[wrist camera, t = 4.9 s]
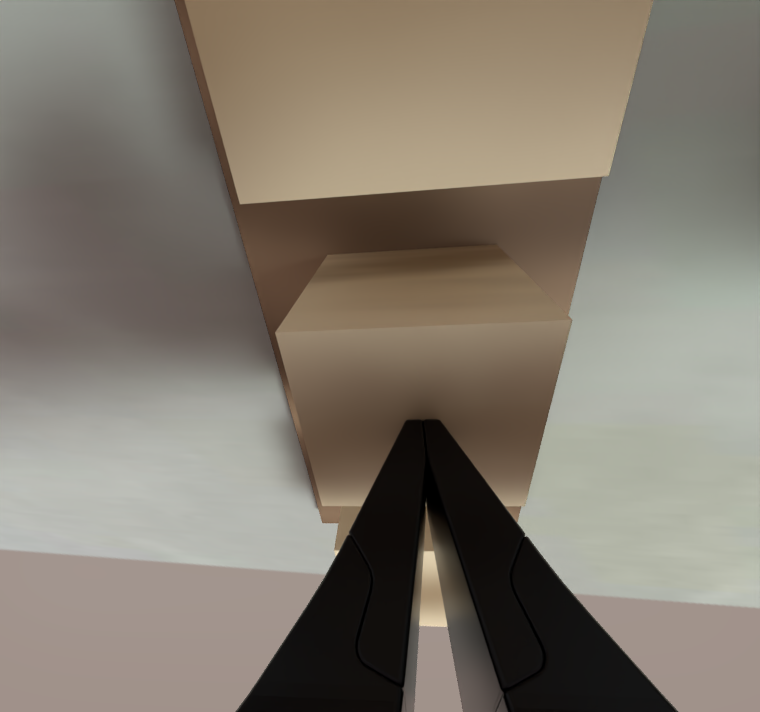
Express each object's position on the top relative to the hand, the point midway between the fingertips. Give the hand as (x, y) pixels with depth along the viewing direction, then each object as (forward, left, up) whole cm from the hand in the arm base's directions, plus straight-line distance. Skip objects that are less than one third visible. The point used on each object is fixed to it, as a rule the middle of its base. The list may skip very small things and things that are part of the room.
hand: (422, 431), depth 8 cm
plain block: (0, 0, -6) cm, 6 cm away
